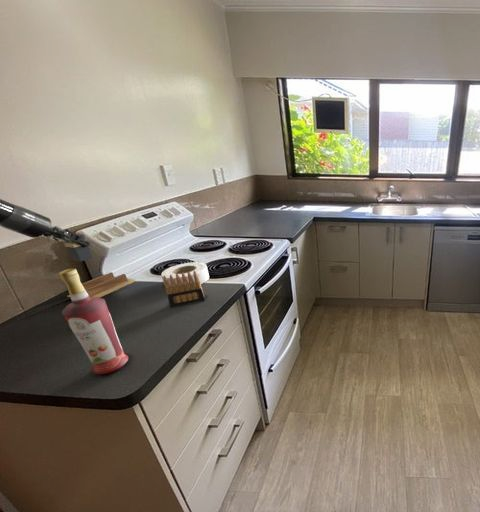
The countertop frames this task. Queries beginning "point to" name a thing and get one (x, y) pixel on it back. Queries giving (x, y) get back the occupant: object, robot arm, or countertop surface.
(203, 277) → the tape roll
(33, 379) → the countertop surface
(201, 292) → the ammunition clip
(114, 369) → the liquor
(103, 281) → the rack
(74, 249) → the dark box with band
